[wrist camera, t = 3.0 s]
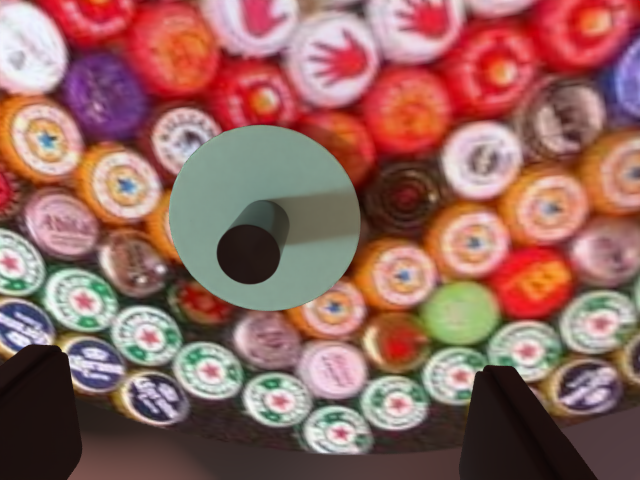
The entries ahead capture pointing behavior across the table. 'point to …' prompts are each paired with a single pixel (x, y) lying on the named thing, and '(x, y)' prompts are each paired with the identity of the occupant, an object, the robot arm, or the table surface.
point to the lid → (264, 217)
